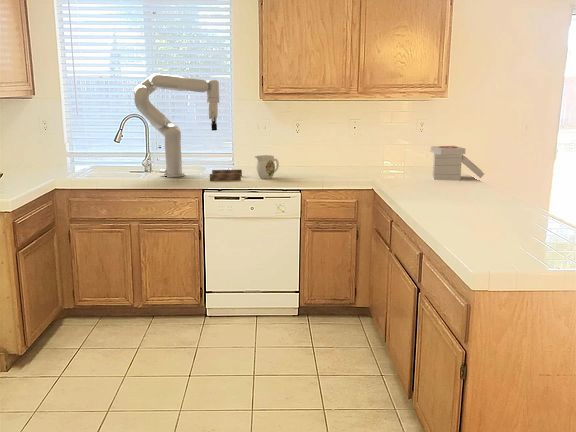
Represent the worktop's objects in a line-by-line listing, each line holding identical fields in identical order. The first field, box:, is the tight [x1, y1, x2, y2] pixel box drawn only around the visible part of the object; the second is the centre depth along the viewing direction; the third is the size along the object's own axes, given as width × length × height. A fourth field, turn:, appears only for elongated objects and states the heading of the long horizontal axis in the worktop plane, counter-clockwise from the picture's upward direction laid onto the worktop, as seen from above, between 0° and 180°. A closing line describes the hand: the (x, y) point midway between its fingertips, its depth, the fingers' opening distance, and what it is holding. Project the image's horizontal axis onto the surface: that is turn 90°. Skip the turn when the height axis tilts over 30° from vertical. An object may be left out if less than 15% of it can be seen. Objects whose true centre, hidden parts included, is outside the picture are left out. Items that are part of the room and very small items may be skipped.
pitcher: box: [254, 154, 279, 180], centre depth 356 cm, size 11×18×14 cm, turn 132°
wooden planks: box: [209, 169, 243, 182], centre depth 356 cm, size 18×17×4 cm
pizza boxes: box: [430, 145, 485, 181], centre depth 348 cm, size 19×30×18 cm, turn 79°
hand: (214, 130), depth 371 cm, fingers closed
